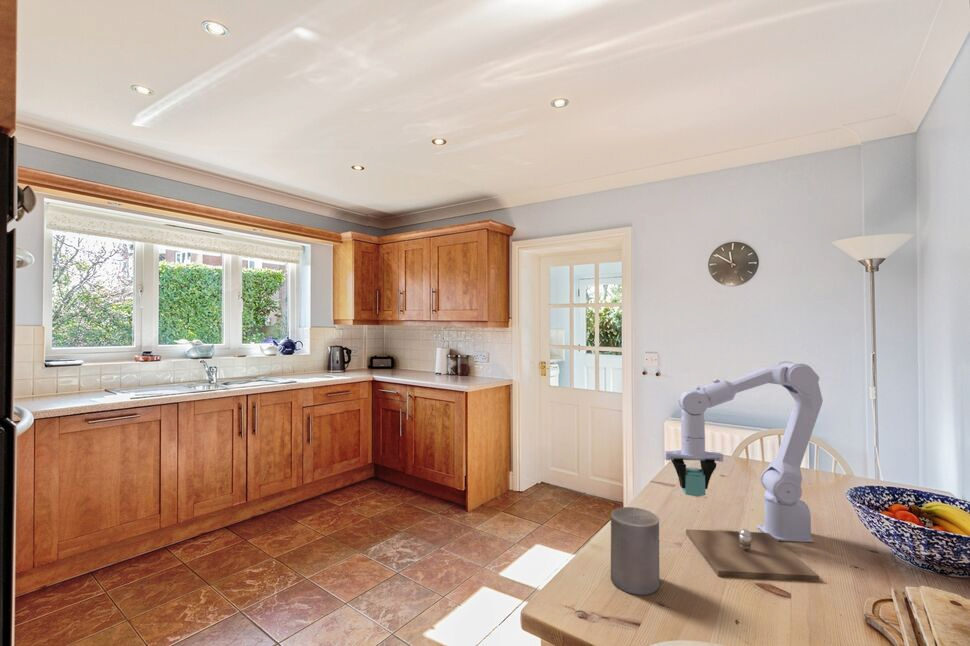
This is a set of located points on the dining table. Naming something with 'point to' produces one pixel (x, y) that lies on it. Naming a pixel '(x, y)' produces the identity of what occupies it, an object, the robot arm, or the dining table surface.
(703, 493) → the cap
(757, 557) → the brown flat square slab
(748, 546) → the stud
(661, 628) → the dining table surface
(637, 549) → the pillar candle
